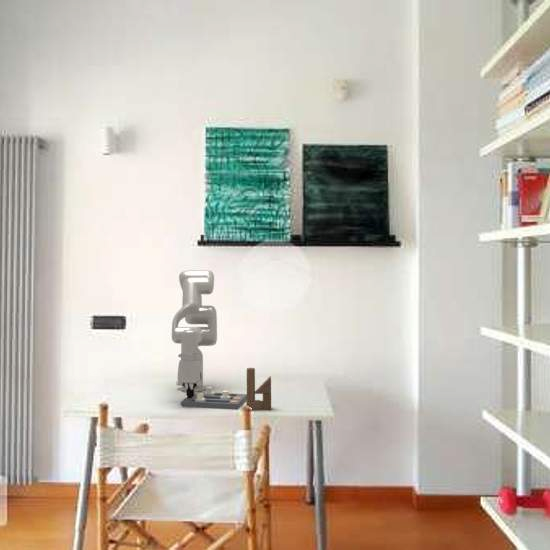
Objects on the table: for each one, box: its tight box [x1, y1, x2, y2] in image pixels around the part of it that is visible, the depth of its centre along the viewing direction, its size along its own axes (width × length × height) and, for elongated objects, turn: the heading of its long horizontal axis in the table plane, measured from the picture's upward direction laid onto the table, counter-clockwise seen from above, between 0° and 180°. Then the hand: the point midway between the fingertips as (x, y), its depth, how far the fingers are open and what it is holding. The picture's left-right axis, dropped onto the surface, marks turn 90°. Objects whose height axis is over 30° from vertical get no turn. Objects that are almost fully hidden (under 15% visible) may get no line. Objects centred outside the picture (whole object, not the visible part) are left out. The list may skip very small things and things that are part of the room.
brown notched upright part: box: [245, 367, 272, 411], centre depth 244 cm, size 4×11×18 cm, turn 94°
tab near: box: [195, 393, 206, 402], centre depth 250 cm, size 4×3×4 cm
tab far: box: [204, 386, 216, 395], centre depth 262 cm, size 4×3×4 cm
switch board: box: [180, 391, 247, 410], centre depth 255 cm, size 26×18×3 cm
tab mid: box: [220, 389, 231, 399], centre depth 254 cm, size 4×3×4 cm
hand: (190, 397), depth 251 cm, fingers closed
